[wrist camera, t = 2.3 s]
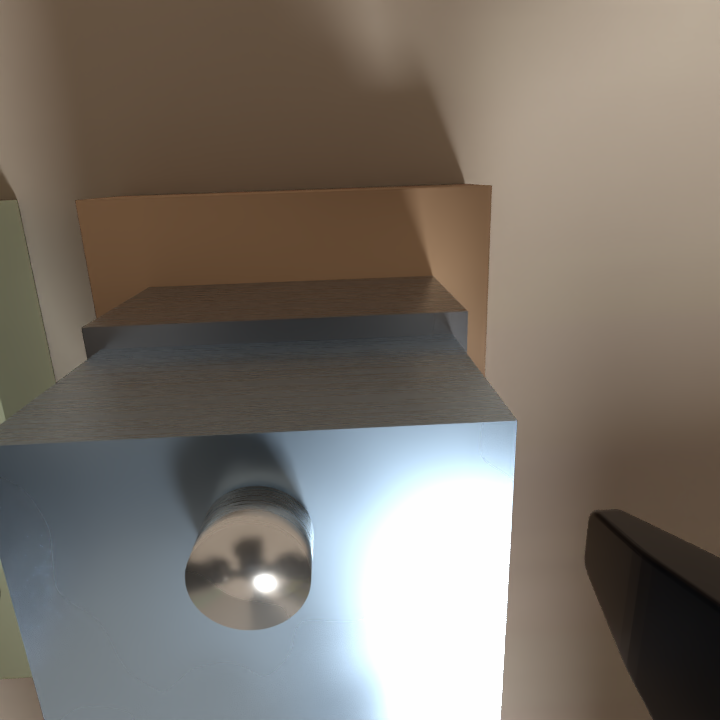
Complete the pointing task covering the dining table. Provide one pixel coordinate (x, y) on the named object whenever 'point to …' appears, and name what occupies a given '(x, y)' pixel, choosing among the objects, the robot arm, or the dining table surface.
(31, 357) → the green stand
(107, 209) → the walnut stand
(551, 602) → the dining table surface
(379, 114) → the dining table surface
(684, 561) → the robot arm
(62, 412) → the housing
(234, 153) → the dining table surface
